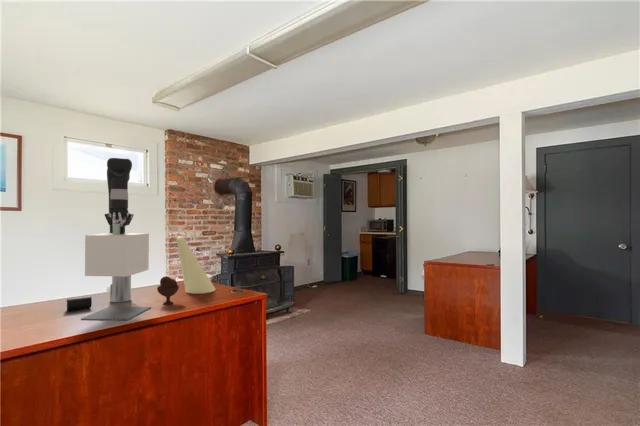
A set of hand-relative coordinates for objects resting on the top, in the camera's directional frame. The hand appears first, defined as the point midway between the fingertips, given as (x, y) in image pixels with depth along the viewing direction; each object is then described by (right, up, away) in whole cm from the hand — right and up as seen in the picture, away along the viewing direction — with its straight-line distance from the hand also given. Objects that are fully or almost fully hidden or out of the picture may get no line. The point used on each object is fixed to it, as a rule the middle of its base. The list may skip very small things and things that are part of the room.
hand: (118, 234), depth 172 cm
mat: (0, -39, 0) cm, 39 cm away
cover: (0, -19, 0) cm, 19 cm away
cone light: (+19, -39, +51) cm, 68 cm away
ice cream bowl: (+16, -39, +19) cm, 46 cm away
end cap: (-23, -39, +5) cm, 46 cm away
